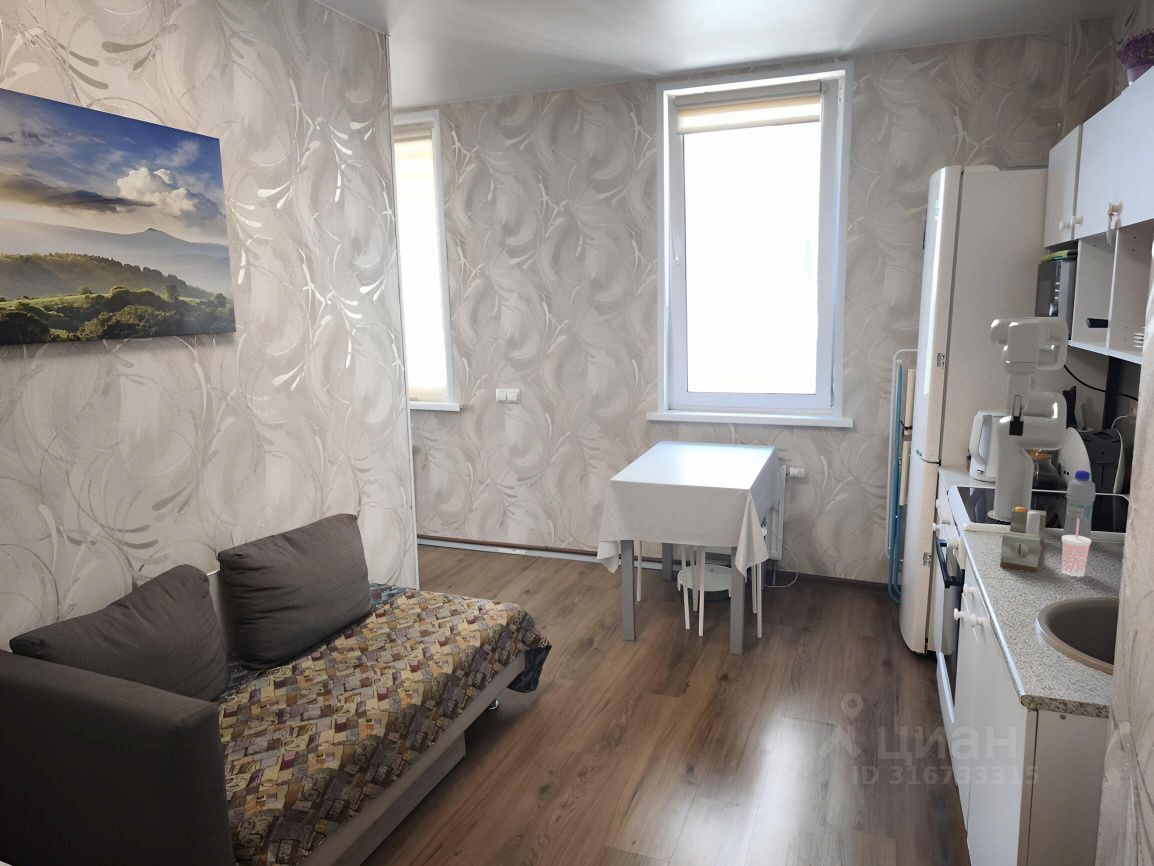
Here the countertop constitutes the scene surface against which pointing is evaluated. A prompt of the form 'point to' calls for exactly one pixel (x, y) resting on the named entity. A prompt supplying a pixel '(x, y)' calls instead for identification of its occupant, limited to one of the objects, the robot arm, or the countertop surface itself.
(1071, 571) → the beverage cup
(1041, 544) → the rail stand
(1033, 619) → the countertop surface
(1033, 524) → the carriage
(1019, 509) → the button
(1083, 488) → the bottle
